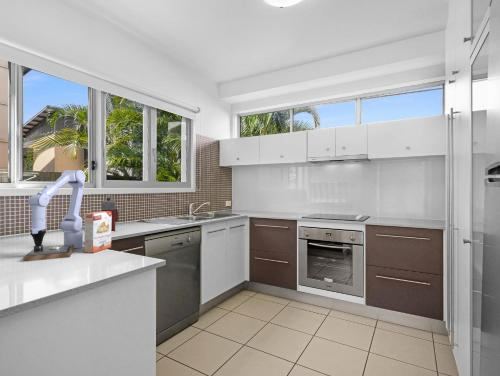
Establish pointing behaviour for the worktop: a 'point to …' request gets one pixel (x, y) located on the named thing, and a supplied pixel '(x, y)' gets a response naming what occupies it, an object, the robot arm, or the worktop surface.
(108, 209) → the toy vending machine
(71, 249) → the base
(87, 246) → the cracker box
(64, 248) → the plate
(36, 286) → the worktop surface
